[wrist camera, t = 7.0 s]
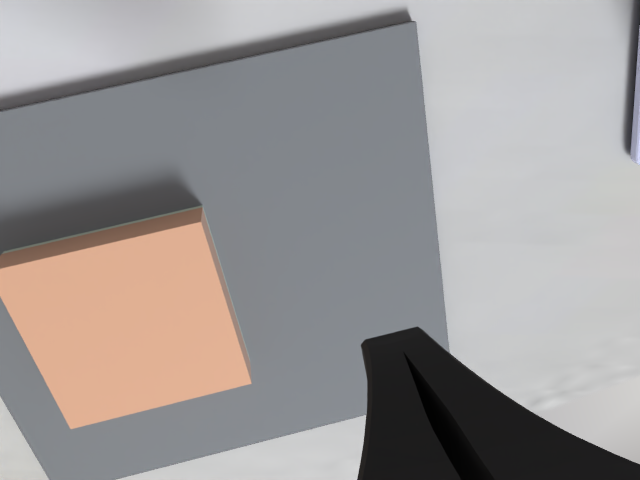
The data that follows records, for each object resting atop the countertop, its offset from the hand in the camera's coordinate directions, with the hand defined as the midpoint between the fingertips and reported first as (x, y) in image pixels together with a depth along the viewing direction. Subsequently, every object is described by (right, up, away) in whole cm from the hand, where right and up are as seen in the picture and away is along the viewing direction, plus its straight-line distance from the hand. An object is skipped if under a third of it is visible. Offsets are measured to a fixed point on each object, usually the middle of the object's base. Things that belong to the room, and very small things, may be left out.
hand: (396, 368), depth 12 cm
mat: (-6, +1, +9) cm, 11 cm away
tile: (-5, +1, +8) cm, 9 cm away
